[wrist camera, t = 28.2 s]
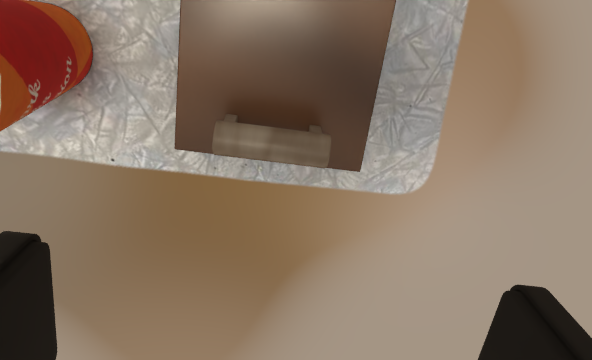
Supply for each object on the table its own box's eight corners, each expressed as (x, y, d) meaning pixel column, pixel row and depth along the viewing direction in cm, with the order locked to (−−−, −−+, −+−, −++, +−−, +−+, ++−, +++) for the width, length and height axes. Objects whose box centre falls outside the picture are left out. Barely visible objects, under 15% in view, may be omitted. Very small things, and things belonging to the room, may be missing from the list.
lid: (358, 167, 29) (374, 203, 24) (177, 145, 28) (154, 178, 23) (411, -88, 24) (445, -110, 19) (188, -126, 23) (162, -160, 18)
